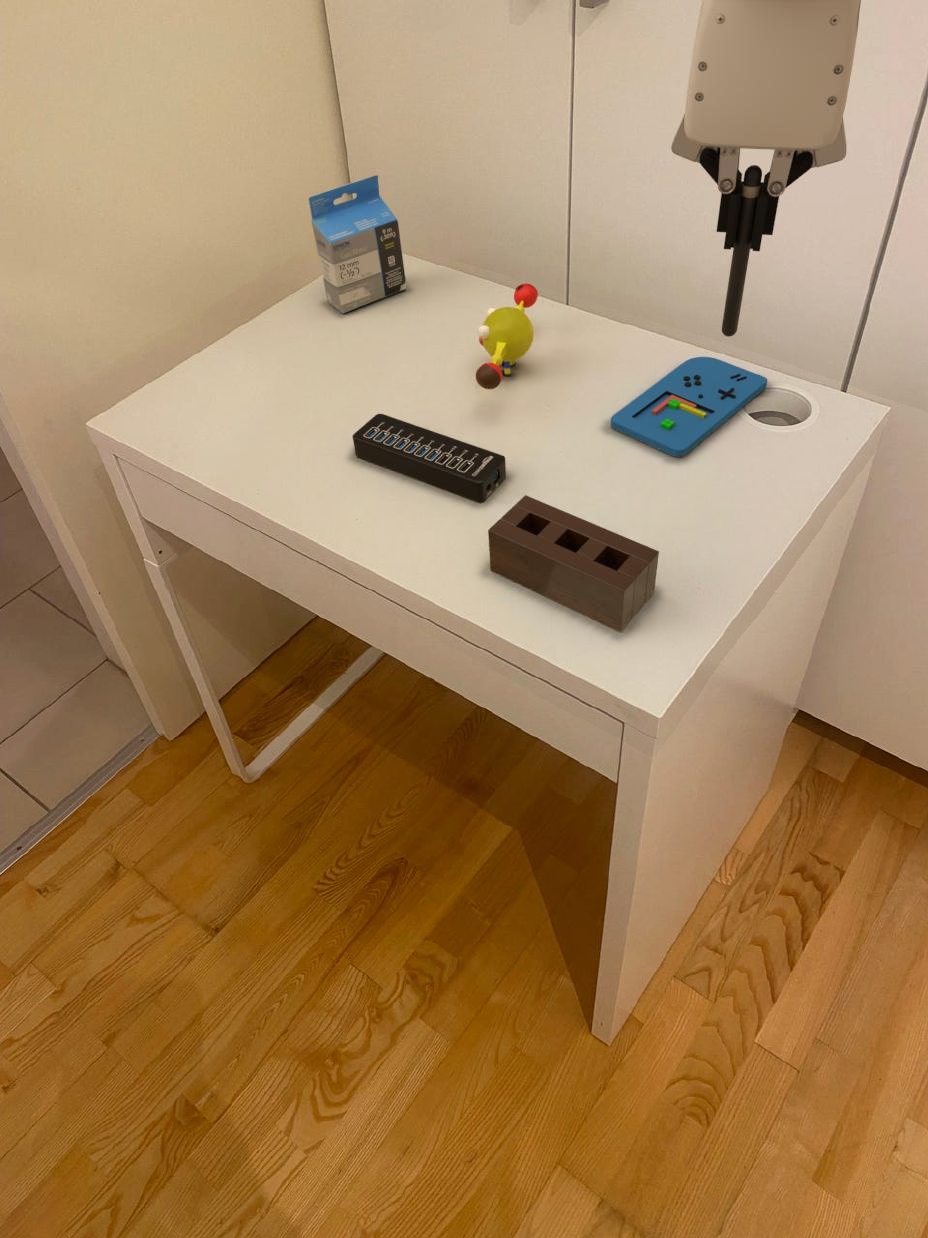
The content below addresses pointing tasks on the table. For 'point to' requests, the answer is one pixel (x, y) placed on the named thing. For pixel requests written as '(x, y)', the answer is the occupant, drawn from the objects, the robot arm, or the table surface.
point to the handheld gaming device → (688, 404)
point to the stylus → (741, 249)
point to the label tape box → (357, 245)
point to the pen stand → (573, 562)
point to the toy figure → (506, 337)
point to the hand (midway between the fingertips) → (743, 240)
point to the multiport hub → (430, 457)
